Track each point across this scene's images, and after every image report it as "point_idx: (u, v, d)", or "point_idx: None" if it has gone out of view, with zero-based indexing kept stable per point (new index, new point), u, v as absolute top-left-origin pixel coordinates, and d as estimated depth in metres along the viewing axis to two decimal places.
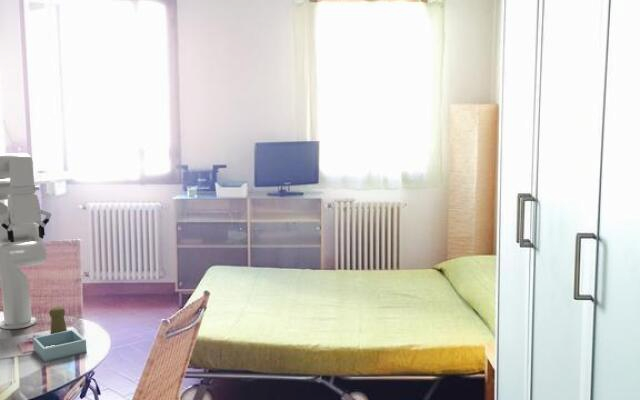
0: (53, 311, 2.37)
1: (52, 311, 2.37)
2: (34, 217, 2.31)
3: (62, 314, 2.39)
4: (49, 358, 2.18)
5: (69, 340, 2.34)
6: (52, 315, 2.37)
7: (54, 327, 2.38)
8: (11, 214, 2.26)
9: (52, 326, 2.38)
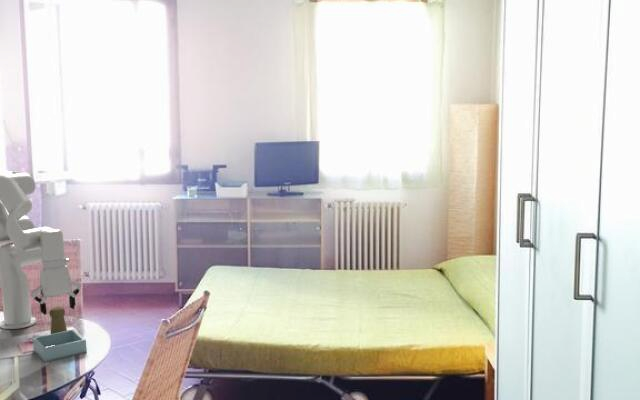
0: (53, 311, 2.37)
1: (52, 311, 2.37)
2: (65, 289, 2.38)
3: (62, 314, 2.39)
4: (49, 358, 2.18)
5: (69, 340, 2.34)
6: (52, 315, 2.37)
7: (54, 327, 2.38)
8: (43, 287, 2.34)
9: (52, 326, 2.38)
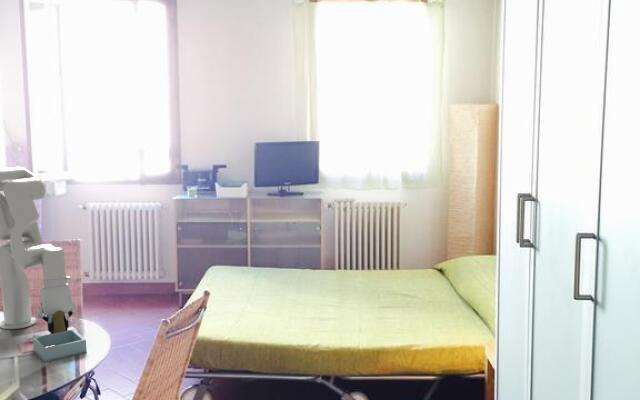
0: None
1: None
2: (66, 307, 2.39)
3: (62, 314, 2.39)
4: (49, 358, 2.18)
5: (69, 340, 2.34)
6: (52, 315, 2.37)
7: (54, 327, 2.38)
8: (44, 306, 2.35)
9: None
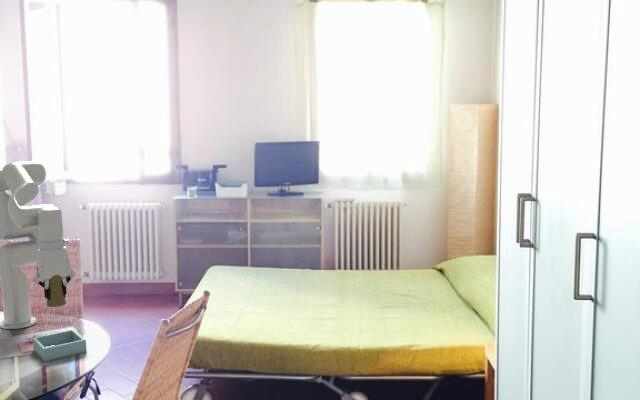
0: None
1: None
2: (63, 272, 2.23)
3: (59, 279, 2.22)
4: (49, 358, 2.18)
5: (69, 340, 2.34)
6: (49, 280, 2.21)
7: (51, 293, 2.21)
8: (40, 269, 2.18)
9: None
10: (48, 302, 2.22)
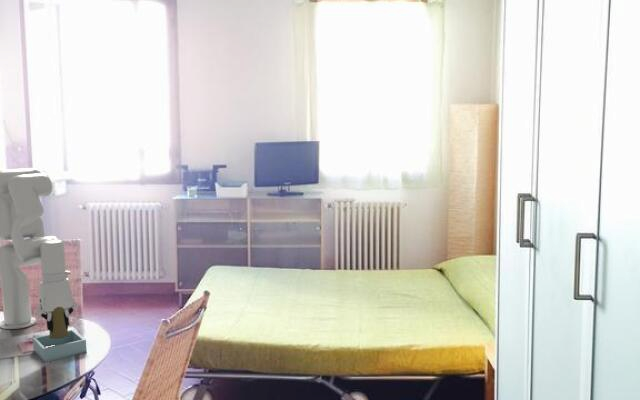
0: None
1: None
2: (66, 303, 2.24)
3: (62, 311, 2.24)
4: (49, 358, 2.18)
5: (69, 340, 2.34)
6: (51, 312, 2.22)
7: (53, 325, 2.23)
8: (43, 302, 2.20)
9: None
10: (51, 334, 2.23)
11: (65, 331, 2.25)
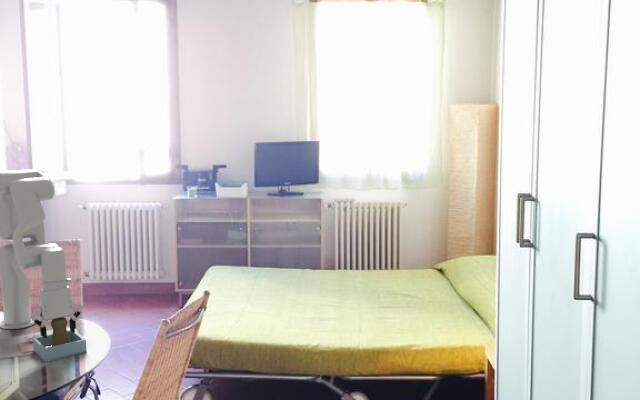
0: (55, 322, 2.24)
1: (54, 322, 2.24)
2: (66, 311, 2.25)
3: (64, 325, 2.25)
4: (49, 358, 2.18)
5: (69, 340, 2.34)
6: (54, 326, 2.24)
7: (56, 339, 2.24)
8: (43, 310, 2.20)
9: (54, 338, 2.25)
10: None
11: None
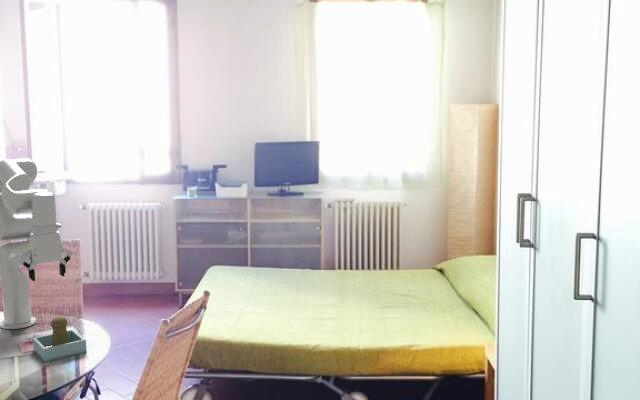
0: (55, 322, 2.24)
1: (54, 322, 2.24)
2: (56, 255, 2.28)
3: (64, 325, 2.25)
4: (49, 358, 2.18)
5: (69, 340, 2.34)
6: (54, 326, 2.24)
7: (56, 339, 2.24)
8: (33, 253, 2.24)
9: (54, 338, 2.25)
10: None
11: None
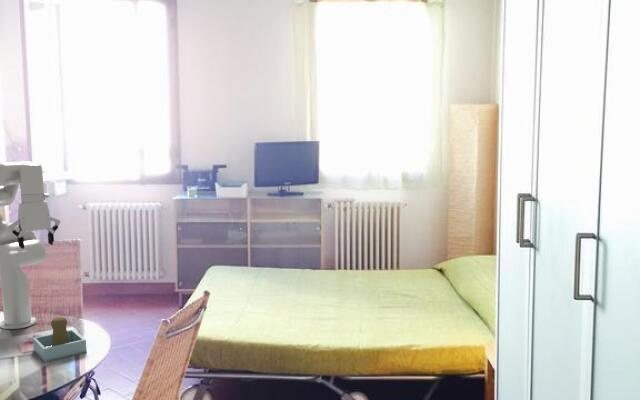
0: (55, 322, 2.24)
1: (54, 322, 2.24)
2: (44, 224, 2.36)
3: (64, 325, 2.25)
4: (49, 358, 2.18)
5: (69, 340, 2.34)
6: (54, 326, 2.24)
7: (56, 339, 2.24)
8: (21, 221, 2.32)
9: (54, 338, 2.25)
10: None
11: None
